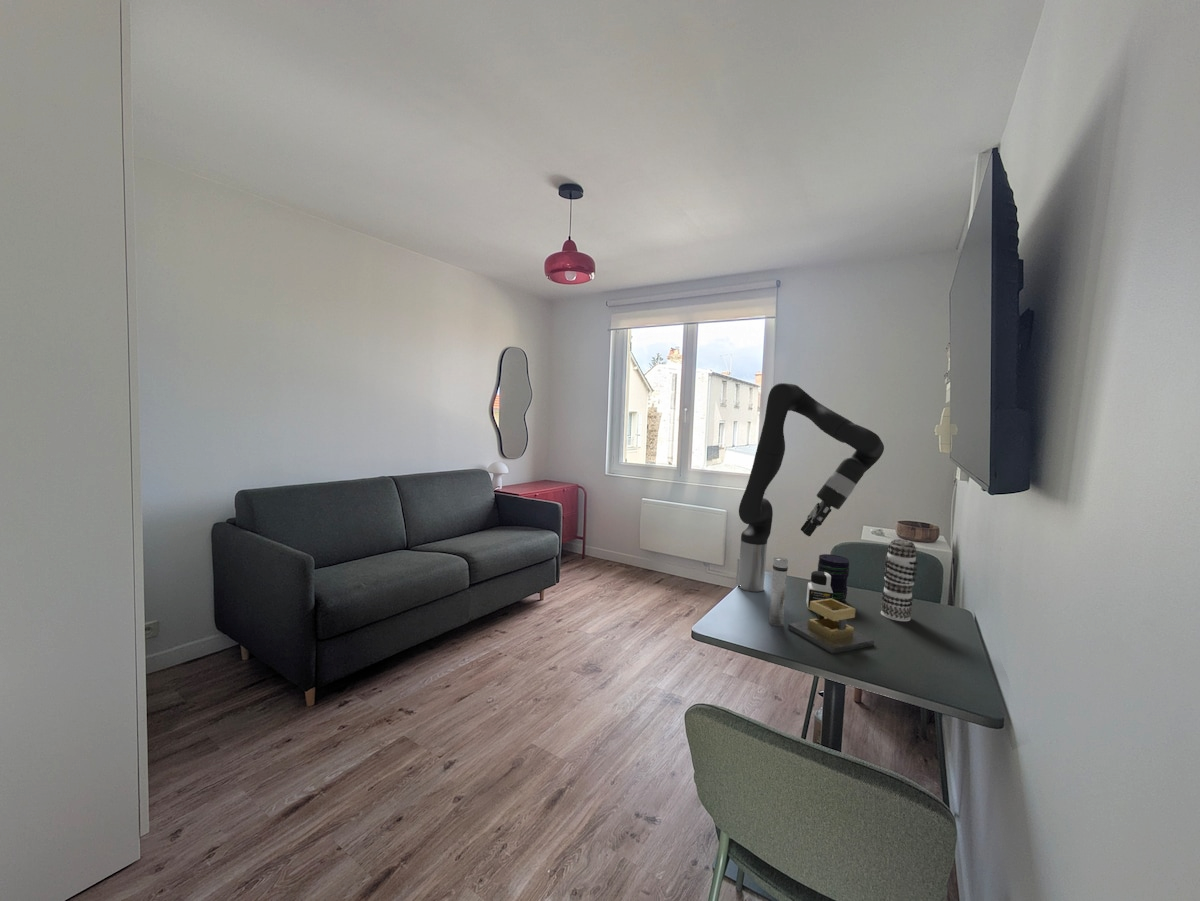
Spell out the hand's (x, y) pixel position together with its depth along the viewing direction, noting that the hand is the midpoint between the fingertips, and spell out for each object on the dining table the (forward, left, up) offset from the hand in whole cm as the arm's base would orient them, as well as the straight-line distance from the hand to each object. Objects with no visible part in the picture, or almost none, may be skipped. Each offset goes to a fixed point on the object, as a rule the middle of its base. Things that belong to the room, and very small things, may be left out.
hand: (804, 533), depth 152 cm
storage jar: (-9, +25, -28) cm, 38 cm away
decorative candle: (+8, +35, -28) cm, 45 cm away
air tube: (+1, -9, -27) cm, 29 cm away
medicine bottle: (-5, +15, -28) cm, 32 cm away
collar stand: (+13, 0, -27) cm, 30 cm away
